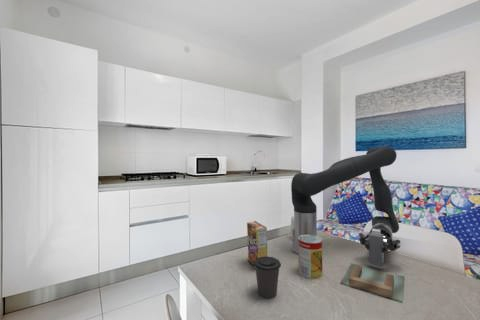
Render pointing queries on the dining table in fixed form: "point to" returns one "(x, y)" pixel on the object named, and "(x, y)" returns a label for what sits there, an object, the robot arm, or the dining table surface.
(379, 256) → the connector plug
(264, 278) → the coffee cup
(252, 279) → the dining table surface
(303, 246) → the canned food
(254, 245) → the candy box
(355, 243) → the dining table surface
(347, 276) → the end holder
